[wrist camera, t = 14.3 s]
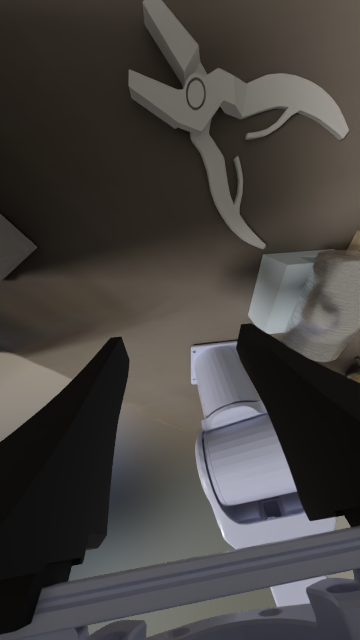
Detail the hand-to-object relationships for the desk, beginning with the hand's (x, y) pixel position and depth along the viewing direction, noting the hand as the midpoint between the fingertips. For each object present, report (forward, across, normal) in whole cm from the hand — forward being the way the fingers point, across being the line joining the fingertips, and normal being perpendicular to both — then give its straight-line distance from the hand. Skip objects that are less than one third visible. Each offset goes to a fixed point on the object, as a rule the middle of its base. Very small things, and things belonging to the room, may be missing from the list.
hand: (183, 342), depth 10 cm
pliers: (+10, -6, -11) cm, 16 cm away
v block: (+10, -14, +2) cm, 17 cm away
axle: (+6, -14, +1) cm, 15 cm away
